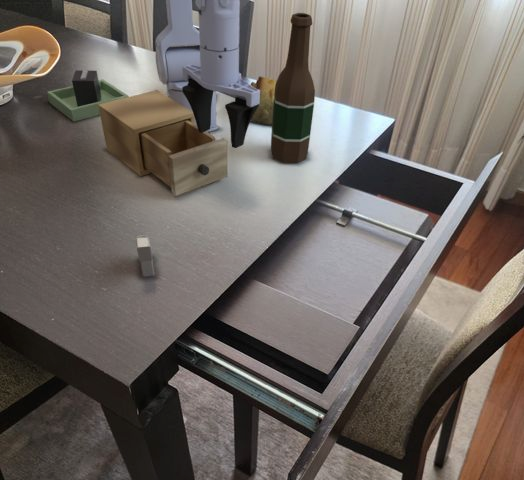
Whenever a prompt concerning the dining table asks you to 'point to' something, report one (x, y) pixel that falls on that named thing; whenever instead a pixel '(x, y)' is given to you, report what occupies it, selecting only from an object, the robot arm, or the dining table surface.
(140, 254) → the grey upright block
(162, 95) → the cabinet
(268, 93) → the pastry
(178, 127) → the drawer
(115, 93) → the tray
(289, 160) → the beer bottle
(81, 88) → the black rectangular block
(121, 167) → the dining table surface
